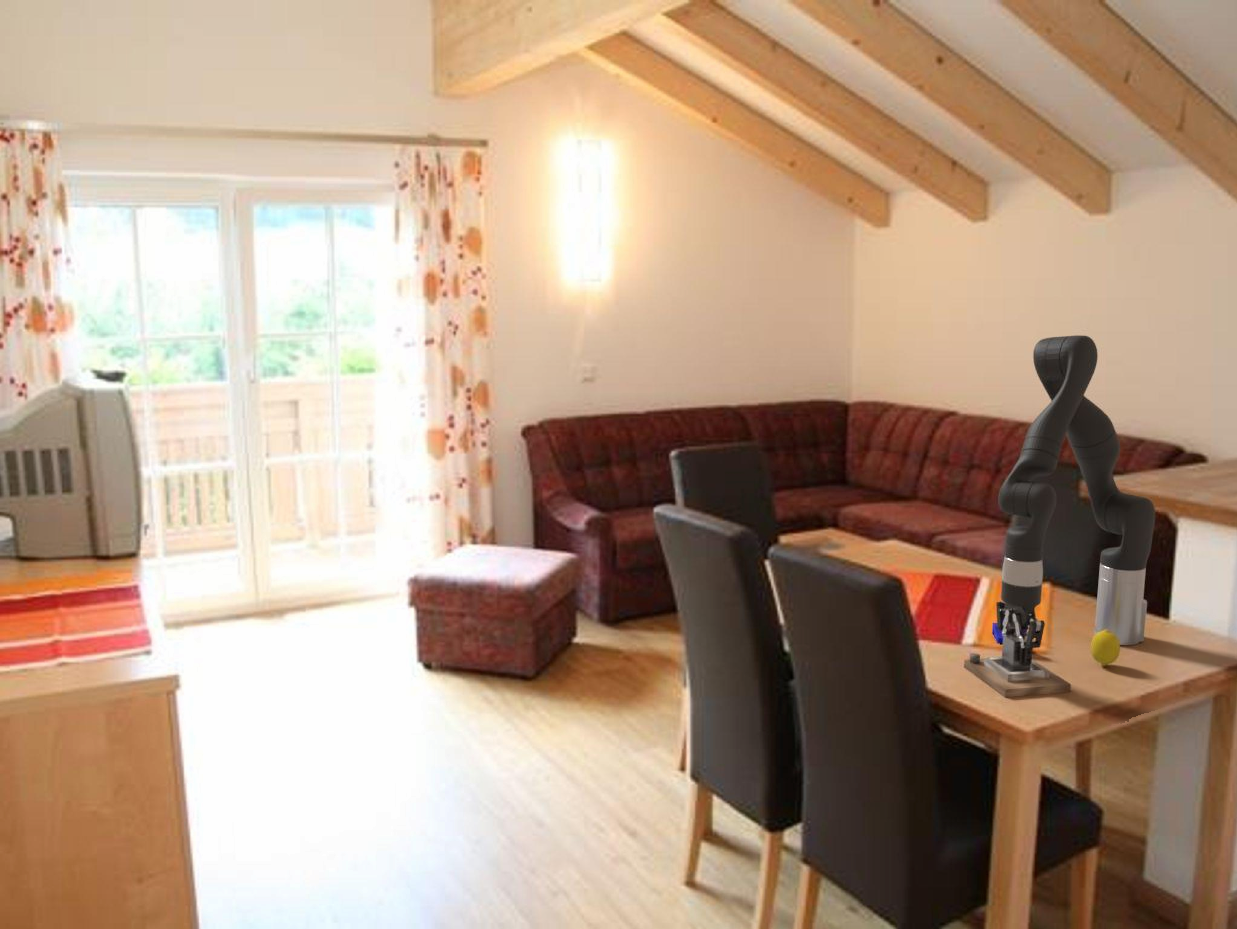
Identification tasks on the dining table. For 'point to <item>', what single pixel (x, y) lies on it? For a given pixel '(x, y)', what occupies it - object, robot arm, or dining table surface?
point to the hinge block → (1012, 654)
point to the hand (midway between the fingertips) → (1016, 659)
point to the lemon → (1105, 647)
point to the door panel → (1016, 677)
